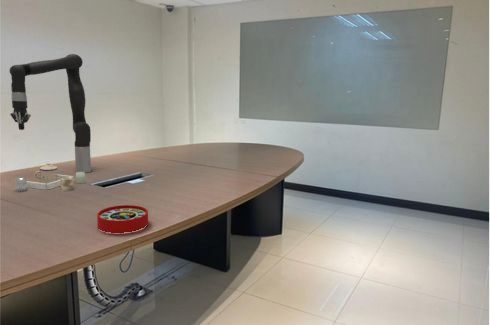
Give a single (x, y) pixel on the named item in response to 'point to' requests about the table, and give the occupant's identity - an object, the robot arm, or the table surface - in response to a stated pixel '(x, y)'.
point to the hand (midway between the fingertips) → (21, 129)
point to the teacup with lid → (48, 173)
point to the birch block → (66, 184)
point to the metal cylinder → (21, 184)
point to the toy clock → (122, 218)
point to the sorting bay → (48, 185)
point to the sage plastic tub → (80, 177)
